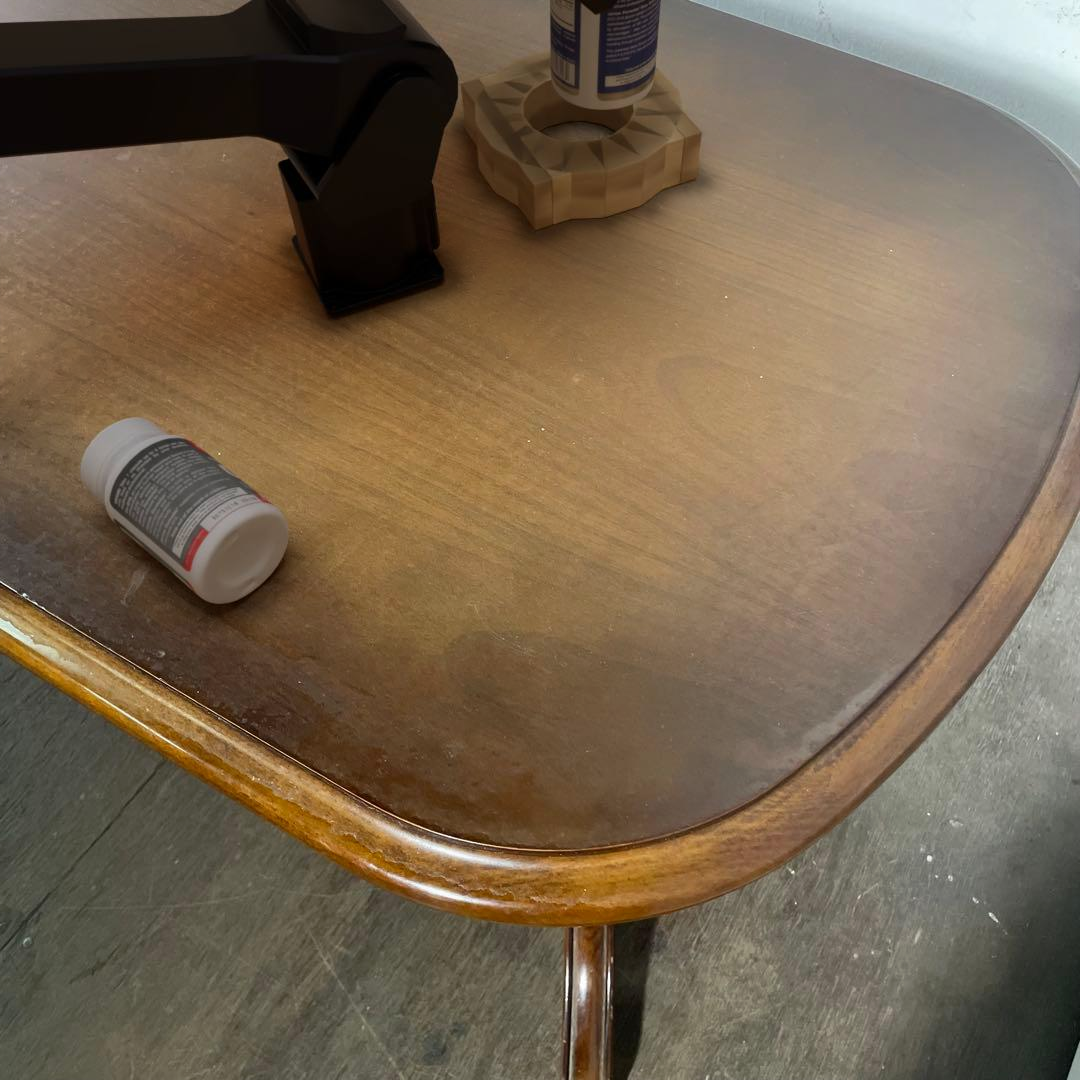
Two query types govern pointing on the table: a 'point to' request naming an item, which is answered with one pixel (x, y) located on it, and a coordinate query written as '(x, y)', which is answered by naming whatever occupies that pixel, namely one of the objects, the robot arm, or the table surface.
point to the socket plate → (575, 145)
